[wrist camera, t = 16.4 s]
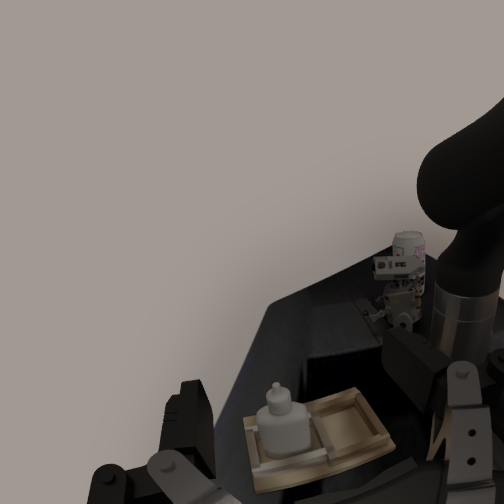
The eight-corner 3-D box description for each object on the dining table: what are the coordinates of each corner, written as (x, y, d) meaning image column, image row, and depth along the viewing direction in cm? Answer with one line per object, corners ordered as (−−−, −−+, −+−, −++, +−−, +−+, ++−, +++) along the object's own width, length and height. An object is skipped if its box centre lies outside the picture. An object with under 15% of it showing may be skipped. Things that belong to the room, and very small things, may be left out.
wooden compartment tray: (355, 391, 36) (355, 377, 35) (394, 450, 24) (398, 437, 23) (244, 421, 35) (240, 408, 34) (256, 494, 22) (252, 484, 22)
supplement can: (398, 285, 67) (397, 230, 63) (426, 288, 61) (427, 230, 57) (389, 298, 61) (387, 238, 58) (420, 302, 55) (421, 239, 52)
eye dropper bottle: (277, 432, 31) (262, 366, 28) (316, 442, 28) (311, 375, 25) (260, 455, 27) (239, 391, 25) (301, 468, 24) (292, 406, 21)
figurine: (372, 315, 56) (370, 249, 53) (421, 317, 50) (424, 249, 46) (363, 338, 49) (361, 265, 46) (419, 341, 43) (425, 265, 39)
